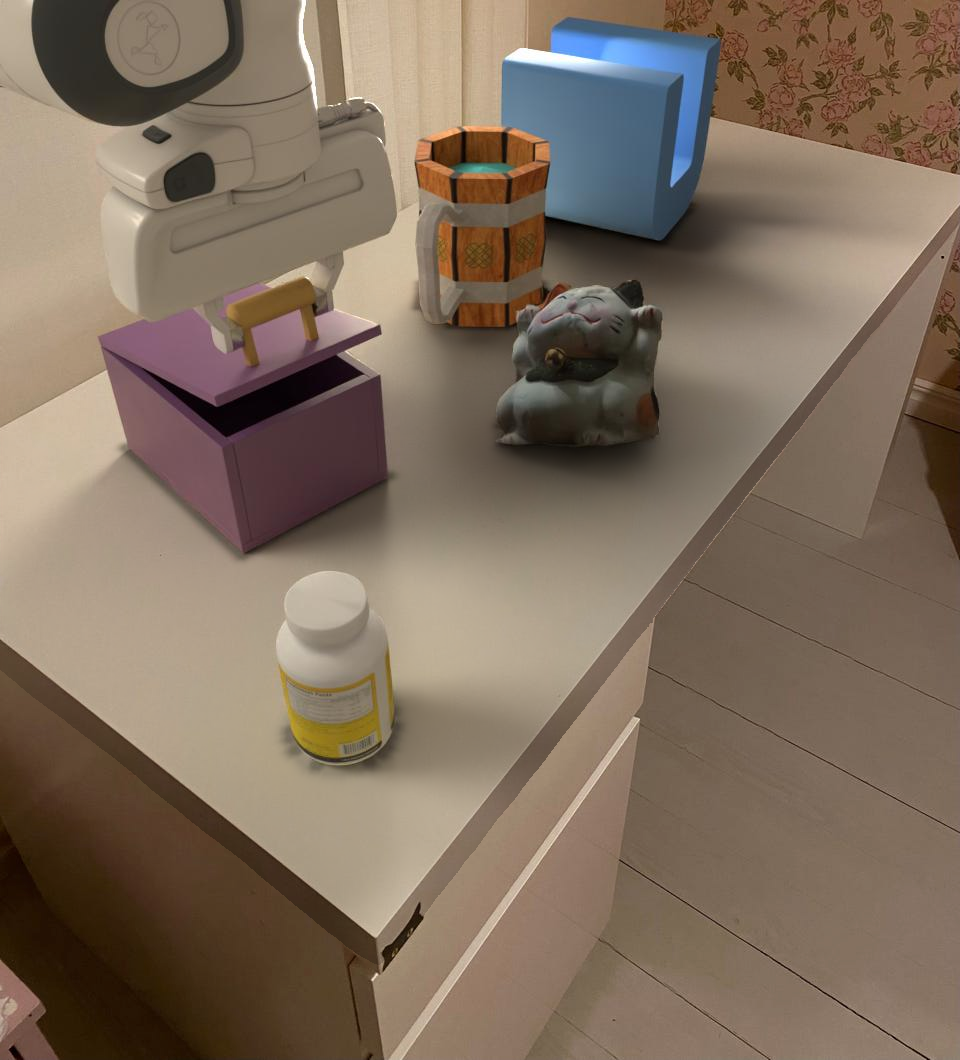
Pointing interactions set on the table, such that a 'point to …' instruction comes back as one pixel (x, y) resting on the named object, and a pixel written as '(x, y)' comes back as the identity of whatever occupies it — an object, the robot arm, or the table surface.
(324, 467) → the box
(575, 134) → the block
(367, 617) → the pill bottle
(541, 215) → the wooden beer tankard
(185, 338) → the lid
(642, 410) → the lucky cat figurine
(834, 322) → the table surface
